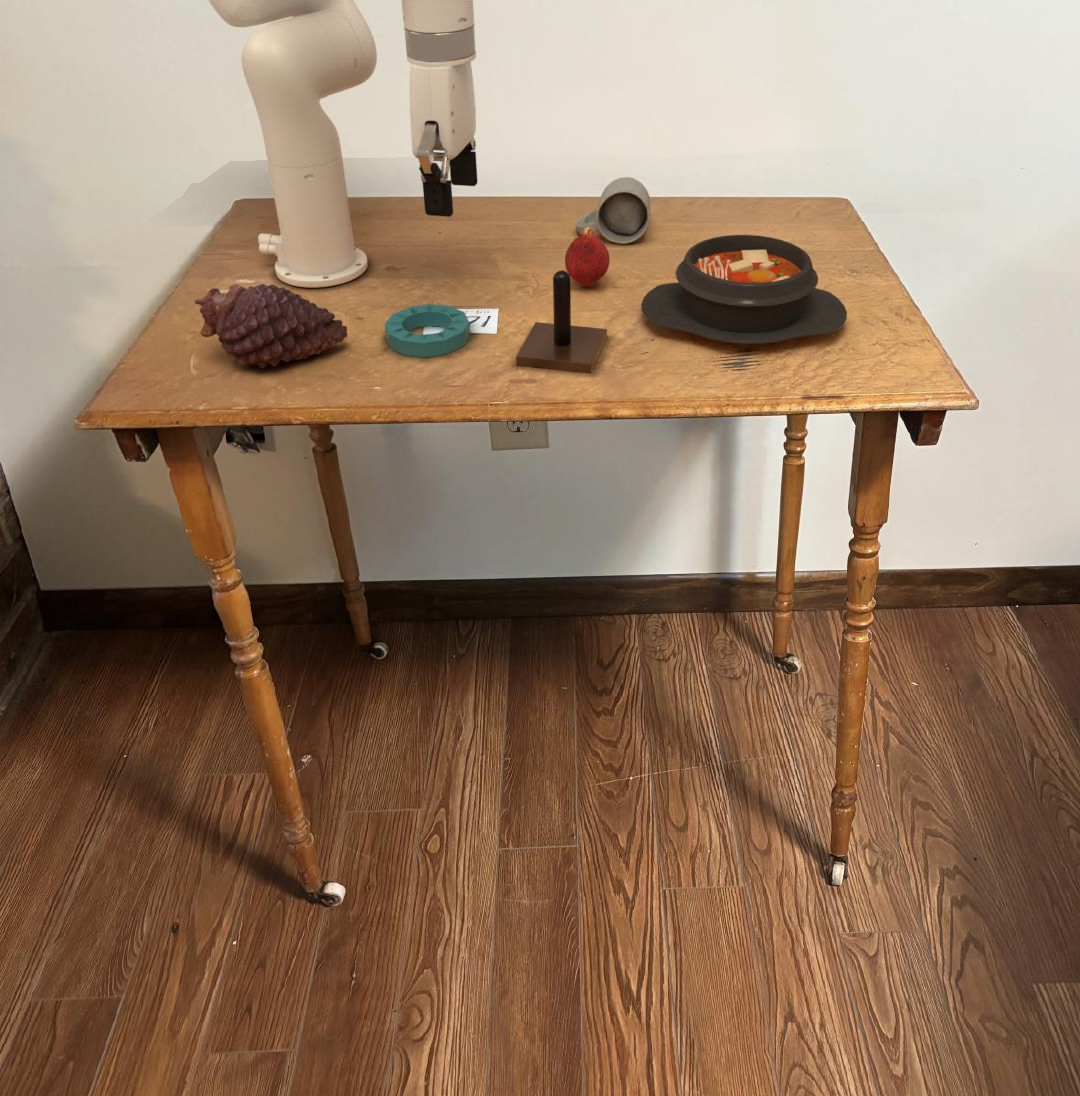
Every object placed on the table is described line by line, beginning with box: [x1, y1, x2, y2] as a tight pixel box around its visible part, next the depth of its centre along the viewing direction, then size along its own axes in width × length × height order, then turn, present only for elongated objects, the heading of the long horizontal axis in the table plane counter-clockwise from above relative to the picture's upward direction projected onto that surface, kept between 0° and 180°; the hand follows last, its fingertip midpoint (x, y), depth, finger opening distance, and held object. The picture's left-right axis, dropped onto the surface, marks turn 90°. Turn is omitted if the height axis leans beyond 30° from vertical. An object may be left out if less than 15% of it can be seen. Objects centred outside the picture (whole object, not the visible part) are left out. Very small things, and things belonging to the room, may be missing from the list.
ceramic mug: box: [575, 176, 651, 245], centre depth 157 cm, size 11×8×8 cm
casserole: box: [641, 234, 848, 345], centre depth 134 cm, size 25×19×8 cm
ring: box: [384, 303, 471, 358], centre depth 134 cm, size 10×10×2 cm
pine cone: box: [194, 283, 348, 369], centre depth 129 cm, size 18×10×10 cm
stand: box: [515, 270, 608, 374], centre depth 128 cm, size 9×9×10 cm
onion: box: [564, 227, 611, 288], centre depth 143 cm, size 6×6×8 cm
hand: (452, 199), depth 129 cm, fingers open, 9 cm apart
